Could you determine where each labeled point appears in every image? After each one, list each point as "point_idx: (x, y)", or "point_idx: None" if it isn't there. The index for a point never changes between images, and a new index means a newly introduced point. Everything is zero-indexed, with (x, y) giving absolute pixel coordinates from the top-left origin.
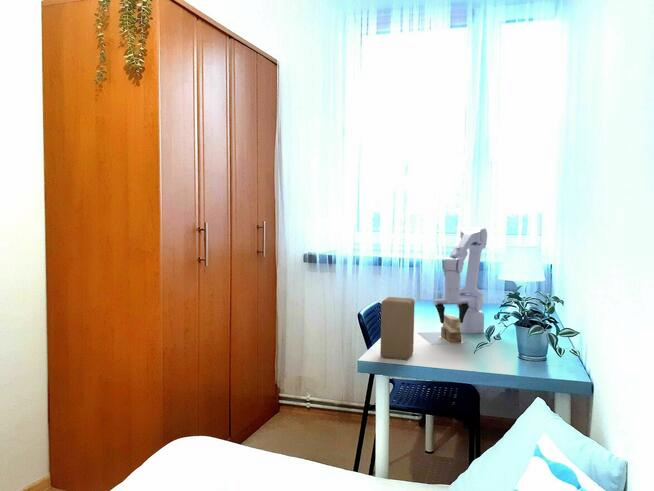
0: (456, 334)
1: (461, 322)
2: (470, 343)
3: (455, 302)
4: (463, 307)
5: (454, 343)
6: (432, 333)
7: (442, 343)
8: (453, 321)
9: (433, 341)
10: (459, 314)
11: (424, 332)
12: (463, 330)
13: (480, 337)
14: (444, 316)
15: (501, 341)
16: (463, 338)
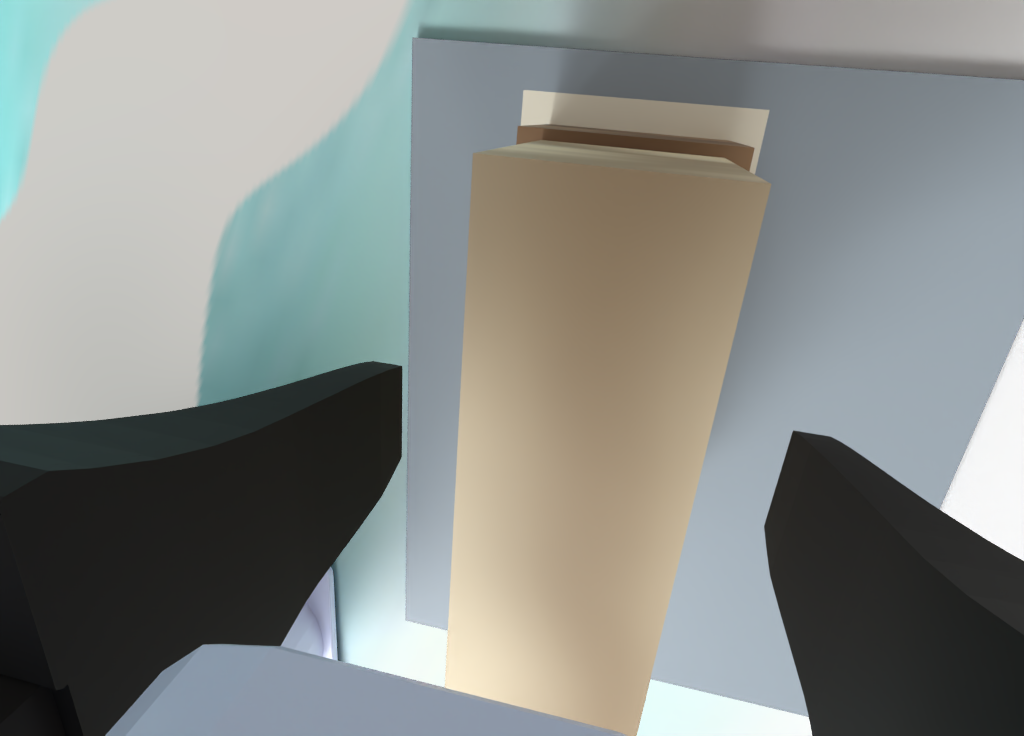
0: (620, 133)
1: (386, 367)
2: (434, 50)
3: (435, 733)
4: (75, 467)
5: (677, 90)
6: (676, 642)
7: (876, 123)
8: (698, 169)
9: (940, 278)
10: (321, 564)
11: (746, 701)
12: (302, 608)
13: (203, 377)
14: (647, 673)
15: (20, 149)
16: (417, 346)
